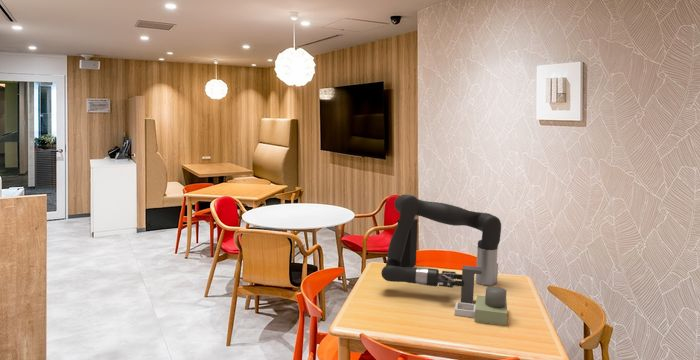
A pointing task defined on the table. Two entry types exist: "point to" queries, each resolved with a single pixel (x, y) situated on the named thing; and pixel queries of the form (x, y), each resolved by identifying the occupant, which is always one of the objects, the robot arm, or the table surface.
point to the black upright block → (410, 247)
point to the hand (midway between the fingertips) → (464, 280)
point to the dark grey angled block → (468, 283)
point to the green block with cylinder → (486, 307)
